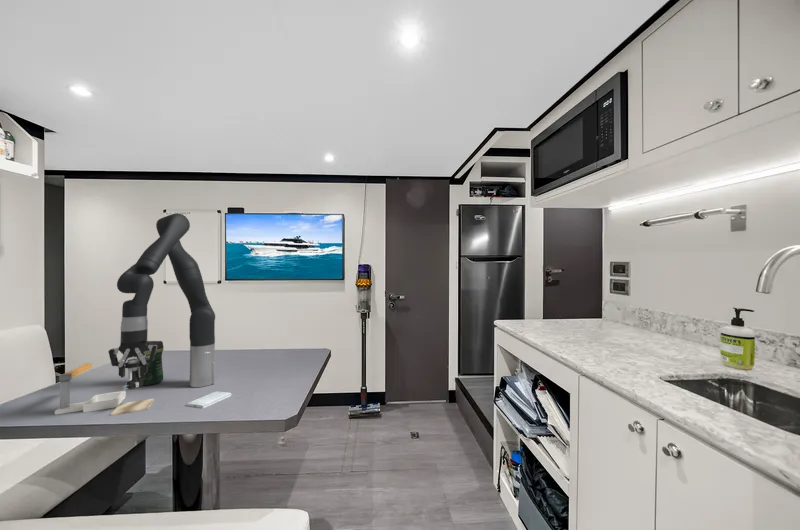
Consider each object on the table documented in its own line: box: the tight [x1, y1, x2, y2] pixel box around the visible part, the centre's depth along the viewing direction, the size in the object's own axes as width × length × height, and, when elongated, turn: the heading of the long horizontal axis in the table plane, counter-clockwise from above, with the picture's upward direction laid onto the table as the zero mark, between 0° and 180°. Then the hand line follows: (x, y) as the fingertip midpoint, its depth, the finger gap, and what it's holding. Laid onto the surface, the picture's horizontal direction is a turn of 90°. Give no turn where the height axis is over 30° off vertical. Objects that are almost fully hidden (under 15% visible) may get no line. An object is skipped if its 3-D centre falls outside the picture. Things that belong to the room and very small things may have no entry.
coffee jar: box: [136, 340, 165, 386], centre depth 141 cm, size 10×8×19 cm
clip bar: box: [58, 362, 93, 382], centre depth 120 cm, size 18×3×2 cm, turn 24°
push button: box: [121, 357, 144, 391], centre depth 115 cm, size 7×5×10 cm
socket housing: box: [54, 380, 127, 415], centre depth 116 cm, size 17×11×10 cm, turn 118°
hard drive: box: [185, 390, 232, 409], centre depth 120 cm, size 2×8×12 cm
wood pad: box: [110, 398, 155, 416], centre depth 114 cm, size 10×10×1 cm
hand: (133, 375), depth 115 cm, fingers closed on push button, 5 cm apart
